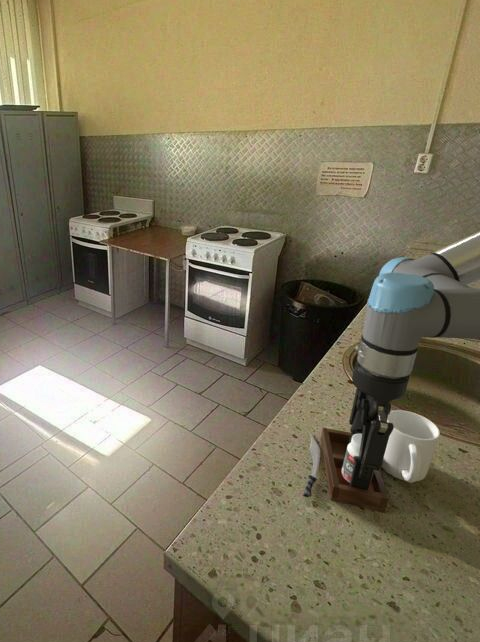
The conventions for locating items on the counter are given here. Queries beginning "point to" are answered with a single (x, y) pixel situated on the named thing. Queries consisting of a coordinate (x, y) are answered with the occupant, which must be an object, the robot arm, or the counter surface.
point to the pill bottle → (351, 456)
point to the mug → (410, 446)
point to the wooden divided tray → (338, 486)
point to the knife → (316, 458)
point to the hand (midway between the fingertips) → (355, 475)
